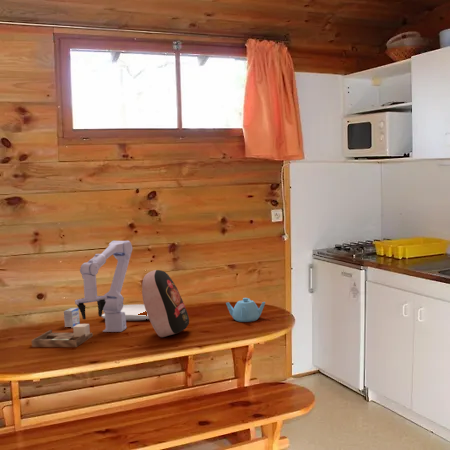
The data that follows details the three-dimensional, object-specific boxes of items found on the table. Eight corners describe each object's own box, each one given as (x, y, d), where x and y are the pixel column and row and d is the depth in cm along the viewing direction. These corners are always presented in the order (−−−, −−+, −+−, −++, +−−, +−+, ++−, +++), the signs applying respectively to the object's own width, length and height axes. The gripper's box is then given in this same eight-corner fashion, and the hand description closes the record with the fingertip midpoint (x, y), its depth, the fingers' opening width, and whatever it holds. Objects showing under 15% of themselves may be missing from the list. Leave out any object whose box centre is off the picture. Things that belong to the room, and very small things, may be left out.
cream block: (89, 333, 271) (89, 323, 270) (85, 336, 265) (84, 326, 265) (78, 333, 272) (78, 323, 271) (73, 336, 266) (73, 326, 266)
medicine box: (72, 328, 290) (71, 310, 289) (64, 328, 291) (63, 310, 290) (79, 324, 297) (78, 307, 297) (71, 324, 298) (70, 307, 298)
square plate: (150, 322, 295) (150, 314, 295) (100, 322, 300) (99, 315, 300) (165, 310, 322) (165, 303, 322) (118, 310, 327) (118, 304, 327)
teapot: (268, 319, 289) (267, 297, 289) (244, 324, 281) (243, 302, 280) (249, 314, 302) (248, 293, 301) (225, 319, 293) (224, 298, 292)
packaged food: (181, 341, 256) (177, 273, 254) (138, 340, 260) (134, 274, 258) (192, 328, 278) (189, 266, 275) (153, 328, 281) (150, 267, 279)
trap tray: (92, 336, 272) (92, 329, 272) (76, 347, 254) (75, 340, 254) (51, 336, 276) (50, 329, 275) (32, 346, 258) (31, 340, 258)
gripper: (102, 285, 274) (104, 313, 275) (72, 289, 267) (74, 318, 267) (107, 287, 268) (109, 316, 269) (77, 291, 261) (79, 321, 262)
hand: (92, 317), depth 268 cm, fingers open, 7 cm apart
